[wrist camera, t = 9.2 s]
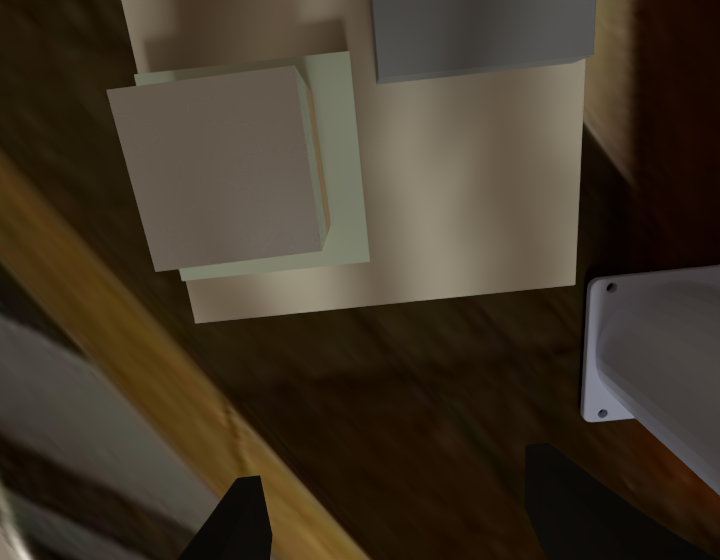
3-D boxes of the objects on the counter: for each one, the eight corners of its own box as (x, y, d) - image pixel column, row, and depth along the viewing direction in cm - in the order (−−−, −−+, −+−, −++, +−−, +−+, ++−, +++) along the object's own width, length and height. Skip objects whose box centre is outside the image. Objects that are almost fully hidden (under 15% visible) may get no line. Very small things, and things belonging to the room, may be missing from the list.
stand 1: (349, 60, 17) (349, 51, 15) (368, 253, 19) (369, 261, 18) (152, 81, 17) (133, 74, 15) (194, 271, 19) (181, 281, 18)
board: (582, -185, 15) (597, -207, 15) (564, 278, 21) (575, 284, 20) (104, -129, 16) (87, -148, 15) (202, 315, 21) (195, 323, 20)
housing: (312, 93, 16) (294, 65, 11) (330, 225, 17) (322, 251, 12) (181, 110, 16) (106, 90, 11) (210, 239, 17) (155, 271, 12)
